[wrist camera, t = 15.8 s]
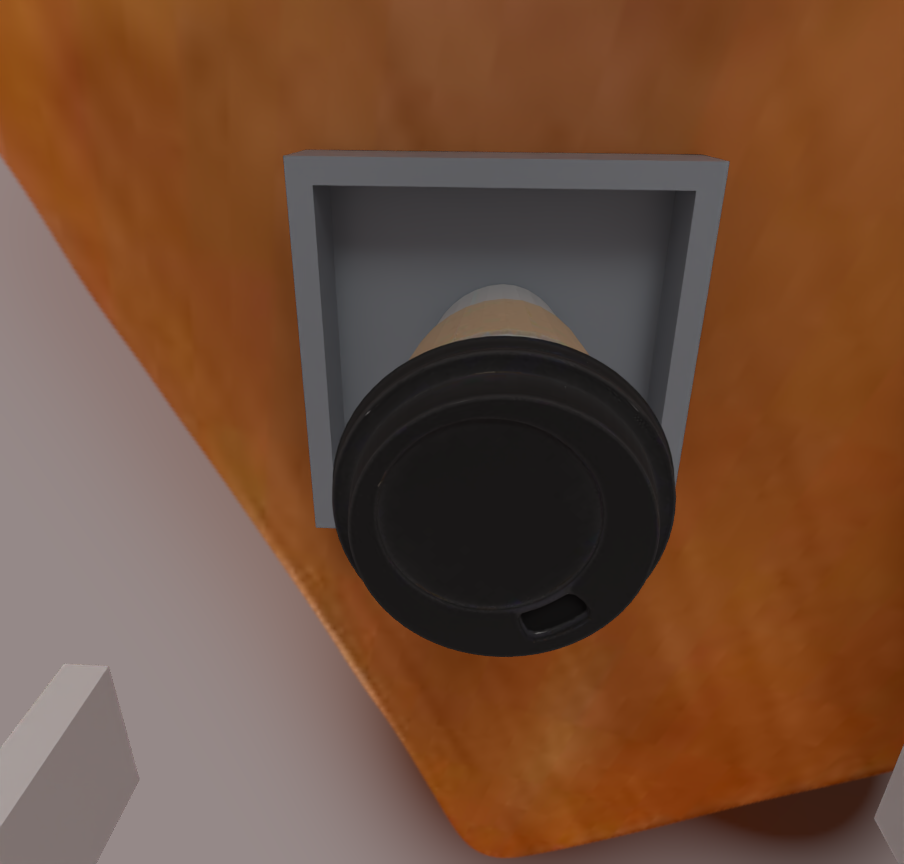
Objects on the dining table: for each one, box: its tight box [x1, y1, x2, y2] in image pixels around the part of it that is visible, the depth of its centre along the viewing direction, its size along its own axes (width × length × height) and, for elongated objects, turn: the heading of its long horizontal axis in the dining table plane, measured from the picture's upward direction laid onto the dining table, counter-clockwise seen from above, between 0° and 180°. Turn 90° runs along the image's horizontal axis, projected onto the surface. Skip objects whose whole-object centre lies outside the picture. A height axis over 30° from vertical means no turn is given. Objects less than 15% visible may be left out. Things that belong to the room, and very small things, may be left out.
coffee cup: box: [332, 284, 676, 657], centre depth 24 cm, size 9×9×15 cm
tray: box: [283, 150, 730, 528], centre depth 30 cm, size 16×16×4 cm
